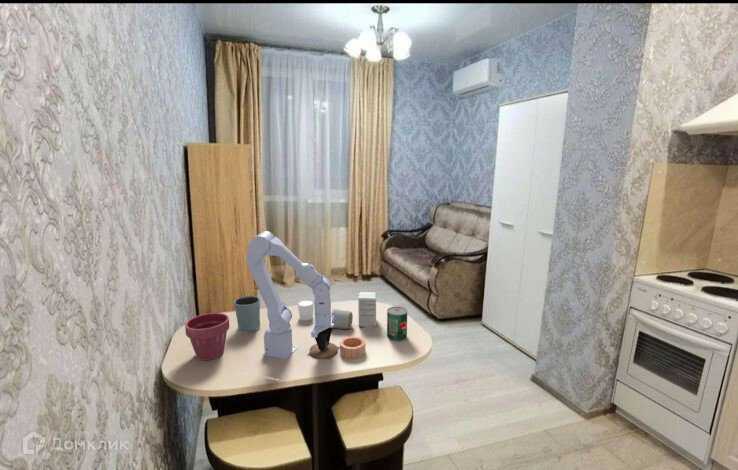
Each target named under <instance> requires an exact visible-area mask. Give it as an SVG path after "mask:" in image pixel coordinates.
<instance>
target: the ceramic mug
mask: <svg viewBox="0 0 738 470" xmlns="http://www.w3.org/2000/svg"><path fill="white" fill-rule="evenodd" d="M331 315H333V316H334V321H332V323H333V324H334V329H339V330H340V329H343V330H349V329H351V328H352V325H353V319H354V318H353V317H354V315H353V312H352V311H350V310H343V309H342V310H341V309H335V308H333V309H332V310H331Z"/></svg>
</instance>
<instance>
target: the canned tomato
mask: <svg viewBox="0 0 738 470" xmlns="http://www.w3.org/2000/svg"><path fill="white" fill-rule="evenodd" d="M408 313H409V311H408V309H407V308H405V307H402V306H391V307H388V308H387V310H386V338H387V339H389V341H392V342H403V341H406V340H407V337H408Z"/></svg>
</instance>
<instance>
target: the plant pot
mask: <svg viewBox="0 0 738 470" xmlns="http://www.w3.org/2000/svg"><path fill="white" fill-rule="evenodd" d="M184 325H185V326H184V328H185V335H186V337H187V338H189V340H190V343H191V346H192V348H193V351H194V353H195V357H196V358H197V359H198V360H202V361H209V360H214V358H215V359H217V358H219V357H221V356H222V355H223V354H224V353H223V352H225V347H226V341H227V333H228V331H229V329H230V318H229V315H227V314H225V313H220V312H211V313H210V312H209V313H204V314H200V315H199V314H198V315H196V316H194V317H191V318H190V319H188V320H187V321H186V322H185V323H184ZM220 355H221V356H220Z"/></svg>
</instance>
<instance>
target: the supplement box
mask: <svg viewBox="0 0 738 470" xmlns="http://www.w3.org/2000/svg"><path fill="white" fill-rule="evenodd" d="M357 298H358V299H357V301H358V302H357V303H358V327H371V328H372V327H376V326H377V292H375V291H369V292H368V291H360V292H359V293H358V297H357Z"/></svg>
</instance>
